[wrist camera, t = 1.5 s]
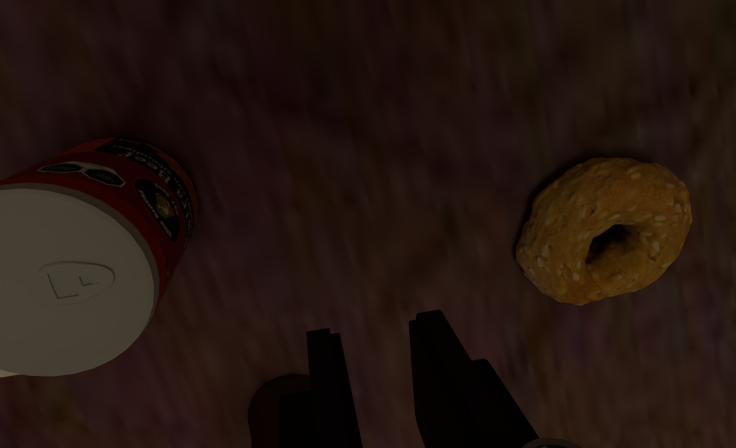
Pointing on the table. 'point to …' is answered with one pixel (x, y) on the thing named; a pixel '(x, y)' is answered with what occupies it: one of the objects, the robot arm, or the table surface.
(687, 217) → the bagel
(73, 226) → the canned food
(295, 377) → the beer glass
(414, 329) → the robot arm
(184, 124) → the table surface
